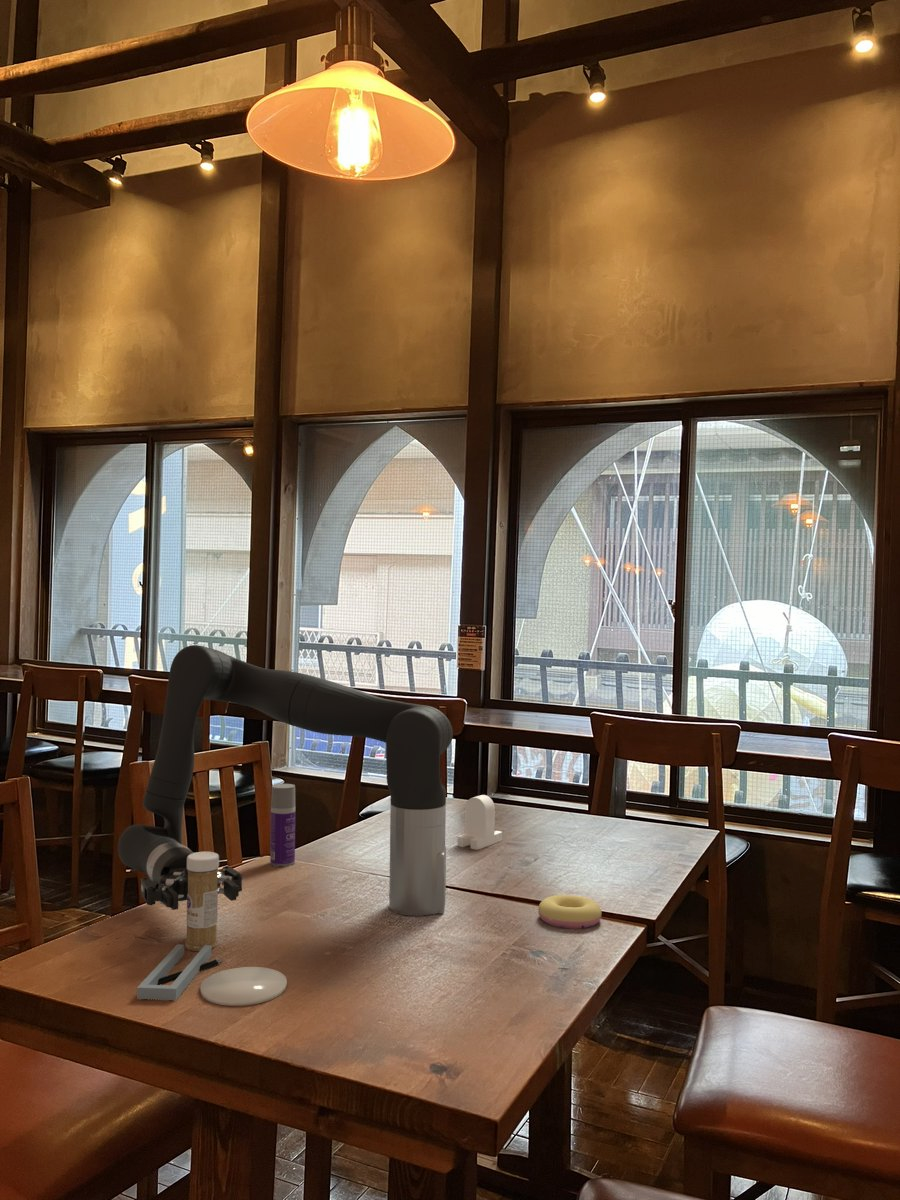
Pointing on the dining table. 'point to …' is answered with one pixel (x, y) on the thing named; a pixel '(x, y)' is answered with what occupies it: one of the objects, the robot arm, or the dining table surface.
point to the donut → (569, 911)
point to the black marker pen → (175, 975)
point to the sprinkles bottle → (202, 900)
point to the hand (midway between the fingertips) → (205, 898)
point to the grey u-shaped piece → (168, 992)
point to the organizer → (479, 824)
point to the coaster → (243, 986)
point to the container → (282, 825)
